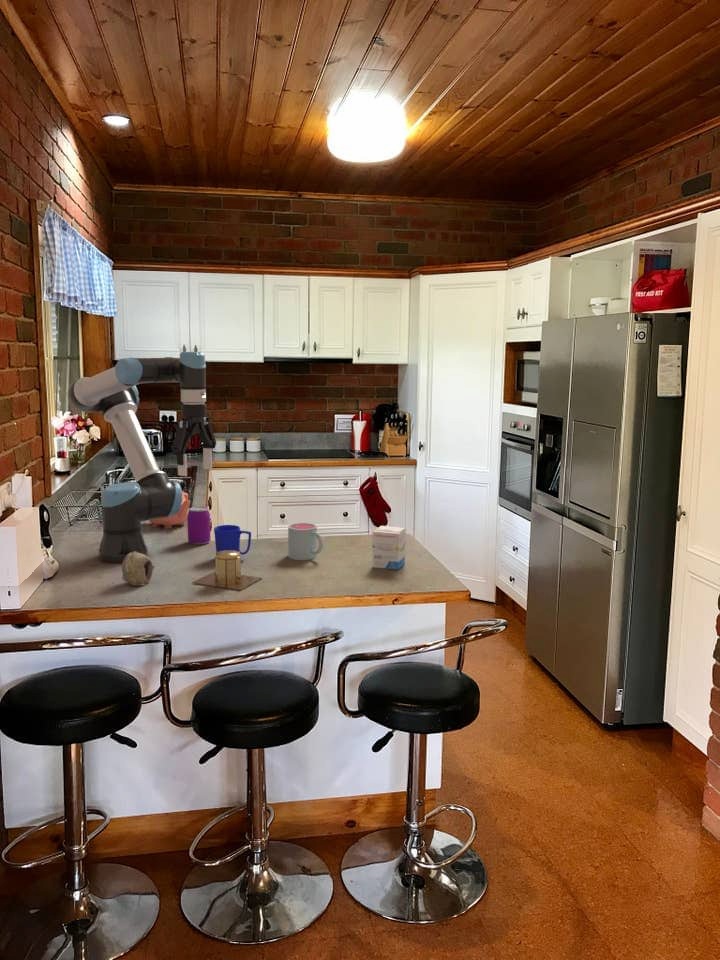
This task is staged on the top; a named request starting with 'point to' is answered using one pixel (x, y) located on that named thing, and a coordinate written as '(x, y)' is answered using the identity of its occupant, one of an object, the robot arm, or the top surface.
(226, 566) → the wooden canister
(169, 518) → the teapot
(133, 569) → the beige round pot
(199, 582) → the square plate with knob
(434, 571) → the top surface
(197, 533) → the beverage can
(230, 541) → the mug
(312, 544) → the mug
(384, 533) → the ink box
